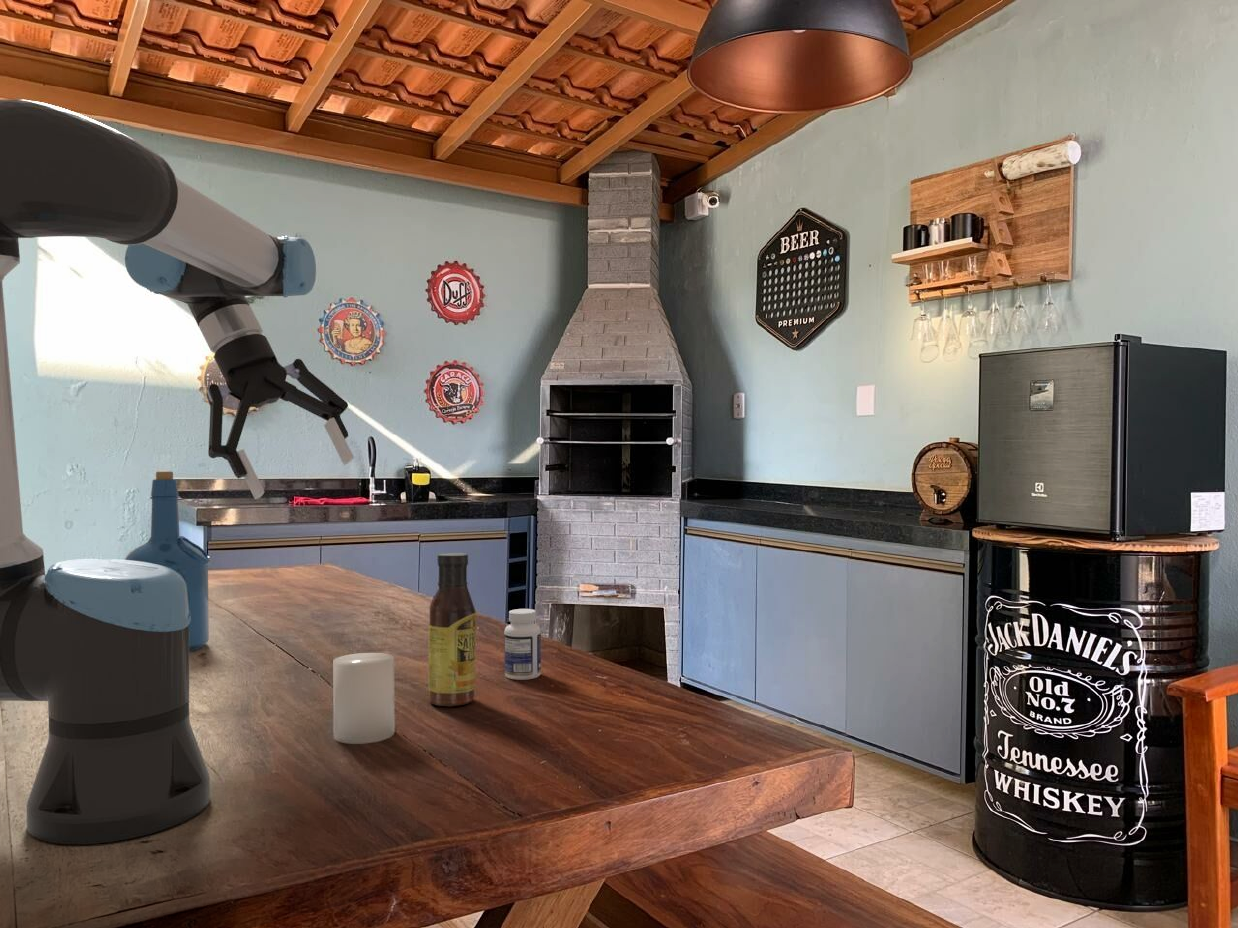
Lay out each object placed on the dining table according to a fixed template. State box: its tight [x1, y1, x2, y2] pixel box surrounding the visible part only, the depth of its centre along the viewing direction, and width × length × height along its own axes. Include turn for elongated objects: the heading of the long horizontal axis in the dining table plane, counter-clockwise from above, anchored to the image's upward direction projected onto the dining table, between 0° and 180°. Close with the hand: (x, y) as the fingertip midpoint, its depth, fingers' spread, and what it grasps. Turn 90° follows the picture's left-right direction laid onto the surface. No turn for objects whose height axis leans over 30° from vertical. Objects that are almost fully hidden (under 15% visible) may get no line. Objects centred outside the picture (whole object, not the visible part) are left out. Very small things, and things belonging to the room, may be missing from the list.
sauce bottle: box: [427, 552, 477, 708], centre depth 125 cm, size 7×6×20 cm
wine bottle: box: [123, 470, 212, 653], centre depth 157 cm, size 14×13×30 cm
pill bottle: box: [503, 608, 542, 681], centre depth 139 cm, size 5×5×10 cm
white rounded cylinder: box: [332, 652, 395, 745], centre depth 111 cm, size 7×7×9 cm
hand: (306, 478), depth 131 cm, fingers open, 13 cm apart
